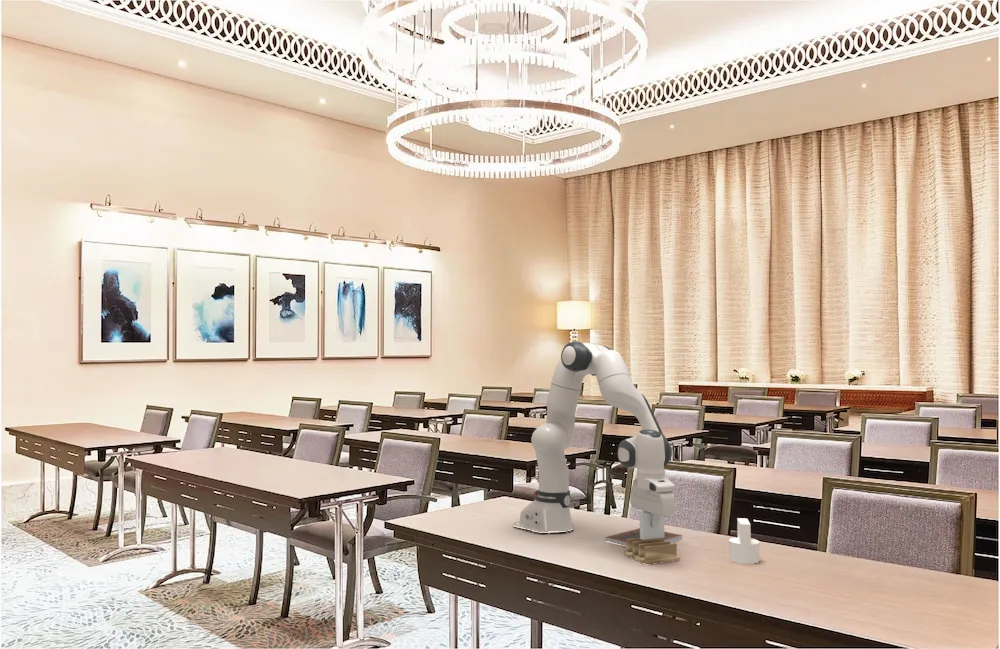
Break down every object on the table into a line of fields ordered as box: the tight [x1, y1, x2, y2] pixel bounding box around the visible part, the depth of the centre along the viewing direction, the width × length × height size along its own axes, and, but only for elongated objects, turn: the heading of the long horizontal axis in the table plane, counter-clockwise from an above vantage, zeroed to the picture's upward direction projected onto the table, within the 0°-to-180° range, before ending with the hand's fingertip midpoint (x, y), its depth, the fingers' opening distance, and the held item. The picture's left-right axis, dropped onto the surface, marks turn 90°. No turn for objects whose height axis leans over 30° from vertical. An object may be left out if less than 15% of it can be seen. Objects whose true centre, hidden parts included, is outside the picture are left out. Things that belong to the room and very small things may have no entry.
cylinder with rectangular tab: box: [728, 517, 761, 565], centre depth 235 cm, size 9×9×12 cm
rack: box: [623, 538, 681, 565], centre depth 238 cm, size 13×12×5 cm
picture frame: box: [604, 527, 683, 546], centre depth 259 cm, size 16×2×22 cm
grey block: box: [639, 512, 665, 540], centre depth 238 cm, size 2×8×8 cm, turn 112°
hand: (651, 526), depth 238 cm, fingers closed on grey block, 1 cm apart
